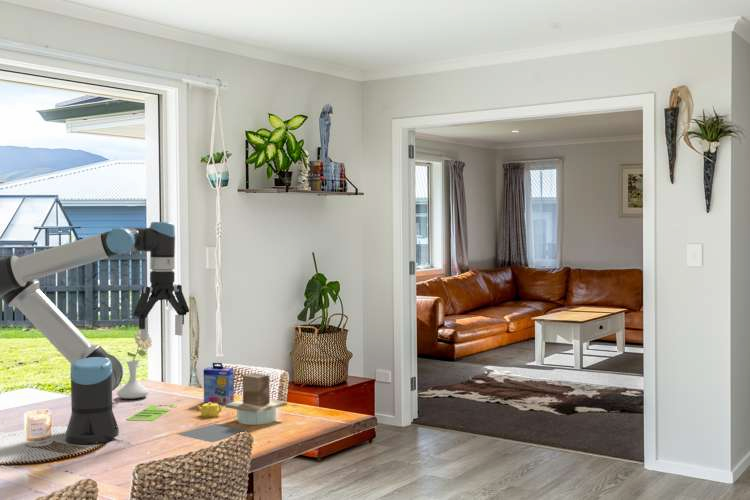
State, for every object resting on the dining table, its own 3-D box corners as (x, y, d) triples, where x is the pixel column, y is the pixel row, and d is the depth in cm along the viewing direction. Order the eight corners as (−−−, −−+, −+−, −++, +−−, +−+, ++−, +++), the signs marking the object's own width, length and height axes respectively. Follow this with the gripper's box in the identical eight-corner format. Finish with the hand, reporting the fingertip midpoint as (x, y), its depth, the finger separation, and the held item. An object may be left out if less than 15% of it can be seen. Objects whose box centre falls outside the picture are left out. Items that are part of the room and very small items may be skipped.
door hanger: (152, 422, 269) (180, 405, 293) (152, 420, 269) (180, 403, 293) (125, 421, 270) (155, 404, 295) (125, 419, 270) (155, 403, 295)
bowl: (256, 428, 258) (256, 412, 258) (229, 423, 265) (229, 407, 265) (282, 421, 268) (282, 405, 267) (256, 416, 275) (256, 400, 275)
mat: (212, 444, 239) (212, 442, 239) (176, 436, 249) (176, 433, 249) (251, 433, 252) (251, 430, 252) (216, 425, 262) (216, 423, 262)
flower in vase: (125, 402, 297) (124, 333, 296) (111, 397, 305) (110, 330, 304) (158, 397, 306) (157, 330, 305) (144, 392, 314) (143, 327, 313)
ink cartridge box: (202, 403, 295) (202, 362, 295) (208, 399, 301) (208, 360, 300) (229, 404, 294) (228, 363, 293) (234, 400, 299) (234, 361, 299)
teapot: (194, 420, 270) (194, 404, 270) (199, 416, 276) (199, 400, 275) (218, 420, 269) (218, 404, 269) (223, 416, 275) (222, 401, 275)
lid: (256, 413, 256) (256, 381, 256) (225, 407, 265) (224, 376, 264) (287, 405, 268) (286, 374, 267) (256, 399, 276) (256, 370, 276)
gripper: (137, 272, 249) (136, 342, 250) (200, 269, 269) (199, 334, 270) (121, 271, 253) (121, 340, 254) (185, 268, 273) (184, 332, 274)
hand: (161, 337), depth 262 cm, fingers open, 13 cm apart
